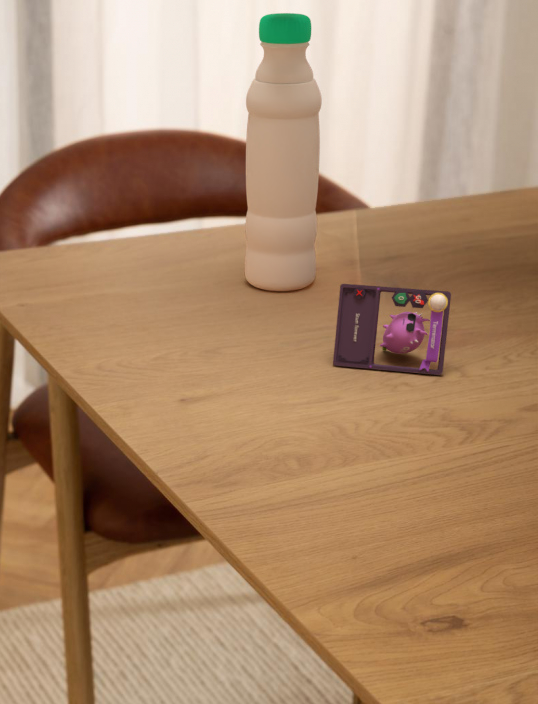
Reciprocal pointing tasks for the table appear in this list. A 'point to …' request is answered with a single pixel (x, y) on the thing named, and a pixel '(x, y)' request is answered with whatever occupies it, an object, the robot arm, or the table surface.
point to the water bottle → (282, 158)
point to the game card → (389, 327)
